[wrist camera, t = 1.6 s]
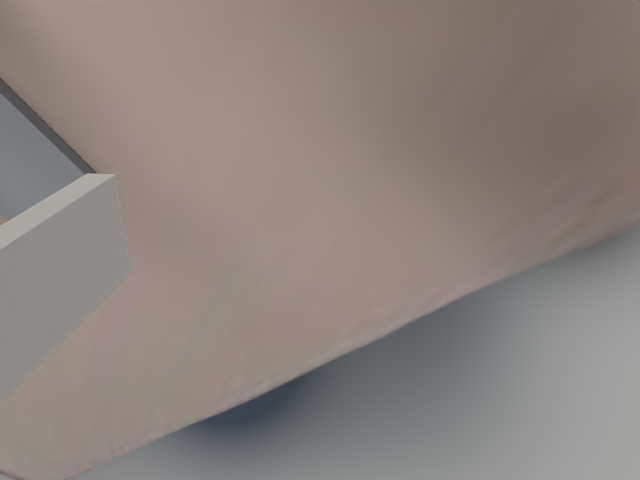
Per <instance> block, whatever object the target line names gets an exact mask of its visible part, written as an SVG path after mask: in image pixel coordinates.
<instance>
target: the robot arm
mask: <svg viewBox="0 0 640 480" xmlns="http://www.w3.org/2000/svg"><path fill="white" fill-rule="evenodd" d="M131 273H132V268H131V262H130V257H129V251H128V245H127V239H126V234H125V228H124V222H123V216H122V211H121V205H120V199H119V193H118V188H117V182H116V176H115V174H88V173H87V174H85V175H84V176H82V177H80V178H79V179H77V180H75V181H74V182H72V183H70V184H69V185H67V186H66V187H64V188H62V189H61V190H59V191H57V192H56V193H54V194H52V195H51V196H49V197H47V198H46V199H44V200H42V201H41V202H39V203H37V204H36V205H34V206H32V207H31V208H29V209H27V210H26V211H24V212H22V213H21V214H19V215H17V216H16V217H14V218H12V219H11V220H9V221H7V222H6V223H4V224H2V225H1V226H0V405H1V404H2V403H3V402H4V401H5V400H6V399H7V398H8V397H9V396H10V395H11V394H12V393H13V392H14V391H15V390H16V389H17V388H18V387H19V386H20V385H21V384H22V383H23V382H24V381H25V380H26V379H27V378H28V377H29V376H30V375H31V374H32V373H33V372H34V371H35V370H36V369H37V368H38V367H39V366H40V365H41V364H42V363H43V362H44V361H45V360H46V359H47V358H48V357H49V356H50V355H51V354H52V353H53V352H54V351H55V350H56V349H57V348H58V347H59V346H60V345H61V344H62V342H63V341H64V340H65V339H66V338H67V337H68V336H69V335H70V334H71V333H72V332H73V331H74V330H75V329H76V328H77V327H78V326H79V325H80V324H81V323H82V322H83V321H84V320H85V319H86V318H87V317H88V316H89V315H90V314H91V313H92V312H93V311H94V310H95V309H96V308H97V307H98V306H99V305H100V304H101V303H102V302H103V301H104V300H105V299H106V298H107V297H108V296H109V295H110V294H111V293H112V292H113V291H114V290H115V289H116V288H117V287H118V286H119V285H120V284H121V283H122V282H123V281H124V280H125V279H126V278H127V277H128V276H129V275H130V274H131Z"/></svg>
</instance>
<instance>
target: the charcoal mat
mask: <svg viewBox="0 0 640 480" xmlns="http://www.w3.org/2000/svg"><path fill="white" fill-rule="evenodd" d="M87 173H88V174H97V173H96V172H95V171H93V170H92V169H91V168H90V167H89V166H88V165H87V164H86V163H85V162H84V161H83V160H82V159H81V158H80V157H79V156H78V155H77V154H76V153H75V152H74V151H73V150H72V149H71V148H70V147H69V146H68V145H67V144H66V143H65V142H64V141H63V140H62V139H61V138H60V137H59V136H58V135H57V134H56V133H55V132H54V131H53V130H52V129H51V128H50V127H49V126H48V125H47V124H46V123H45V122H44V121H43V120H42V119H41V118H40V117H39V116H38V115H37V114H36V113H35V112H34V111H33V110H31V109H30V108H29V107H28V106H27V105H26V104H25V103H24V102H23V101H22V100H21V99H20V98H19V97H18V96H17V95H16V94H15V93H14V92H13V91H12V90H11V89H10V88H9V87H8V86H7V85H6V84H5V83H4V82H3V81H2V80H1V79H0V213H1V214H2V215H3V216H4V217H6V218H7V219H8V220H11V219H12V218H14V217H16V216H17V215H19V214H21V213H22V212H24V211H26V210H27V209H29V208H31V207H32V206H34V205H36V204H37V203H39V202H41V201H42V200H44V199H46V198H47V197H49V196H51V195H52V194H54V193H56V192H57V191H59V190H61V189H62V188H64V187H66V186H67V185H69V184H70V183H72V182H74V181H75V180H77V179H79V178H80V177H82V176H84V175H85V174H87Z"/></svg>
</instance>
